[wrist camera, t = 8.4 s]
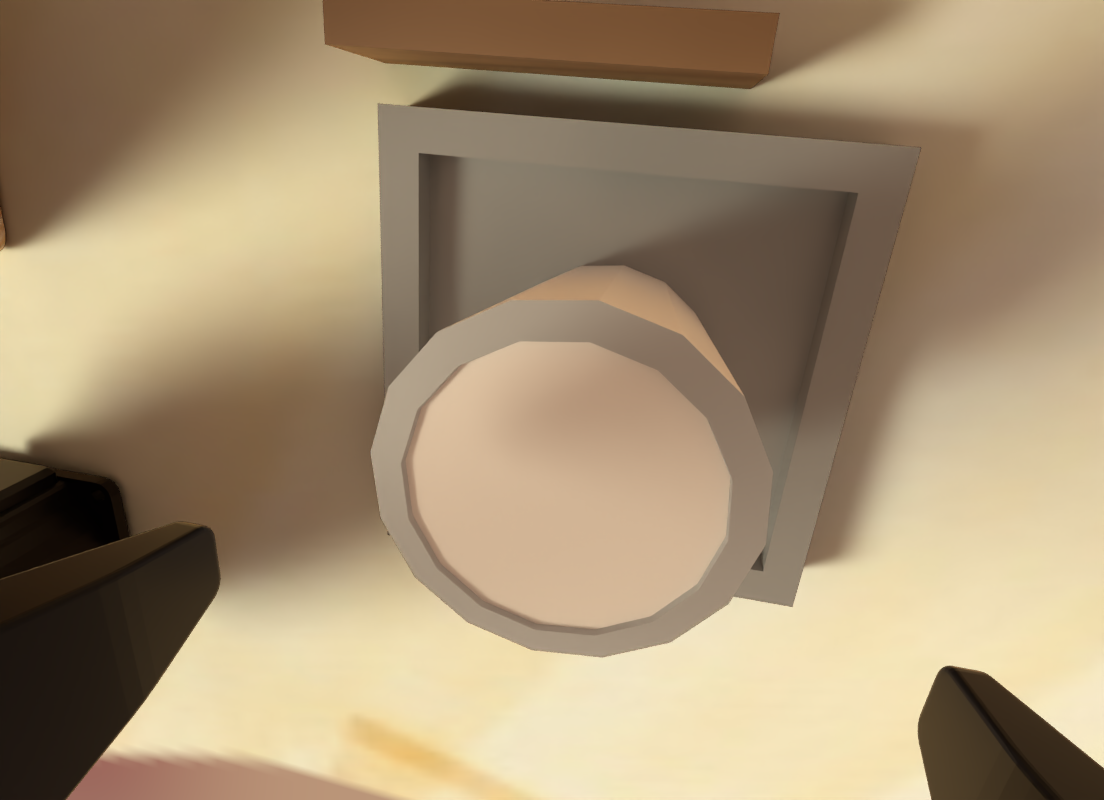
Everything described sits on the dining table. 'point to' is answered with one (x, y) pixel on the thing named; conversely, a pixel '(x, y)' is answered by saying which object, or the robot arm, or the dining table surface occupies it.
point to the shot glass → (575, 467)
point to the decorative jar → (2, 232)
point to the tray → (659, 258)
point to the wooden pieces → (560, 38)
